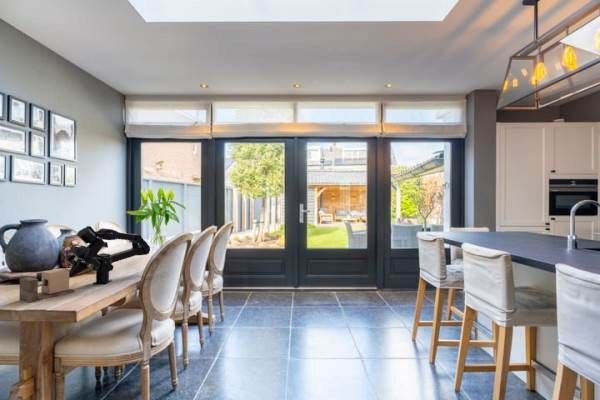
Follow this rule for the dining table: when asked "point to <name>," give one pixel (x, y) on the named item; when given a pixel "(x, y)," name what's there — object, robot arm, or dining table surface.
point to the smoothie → (66, 252)
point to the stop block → (35, 291)
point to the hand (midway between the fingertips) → (69, 276)
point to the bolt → (43, 283)
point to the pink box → (55, 280)
